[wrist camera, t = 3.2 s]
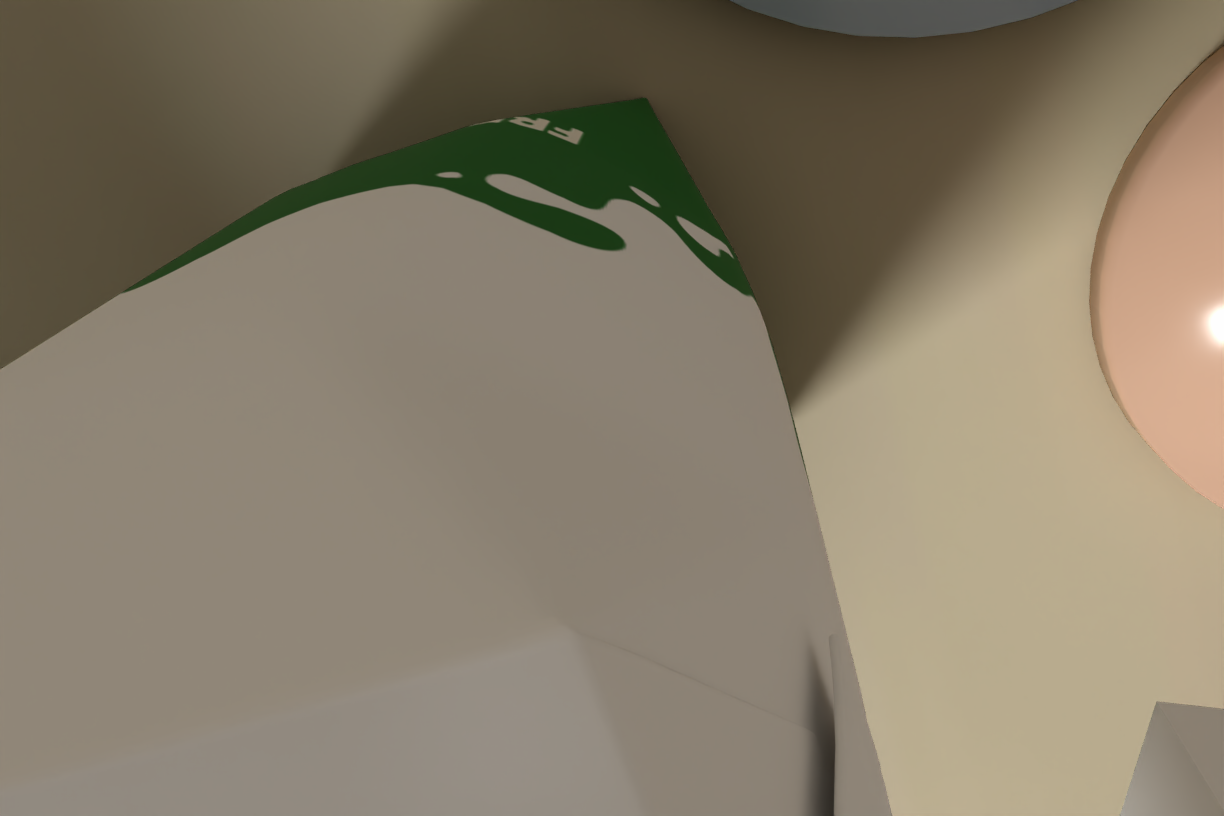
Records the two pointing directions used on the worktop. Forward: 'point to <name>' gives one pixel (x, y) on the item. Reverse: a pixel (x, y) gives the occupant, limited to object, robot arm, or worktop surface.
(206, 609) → the soya milk
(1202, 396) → the terracotta dish
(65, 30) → the worktop surface
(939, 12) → the slate dish
